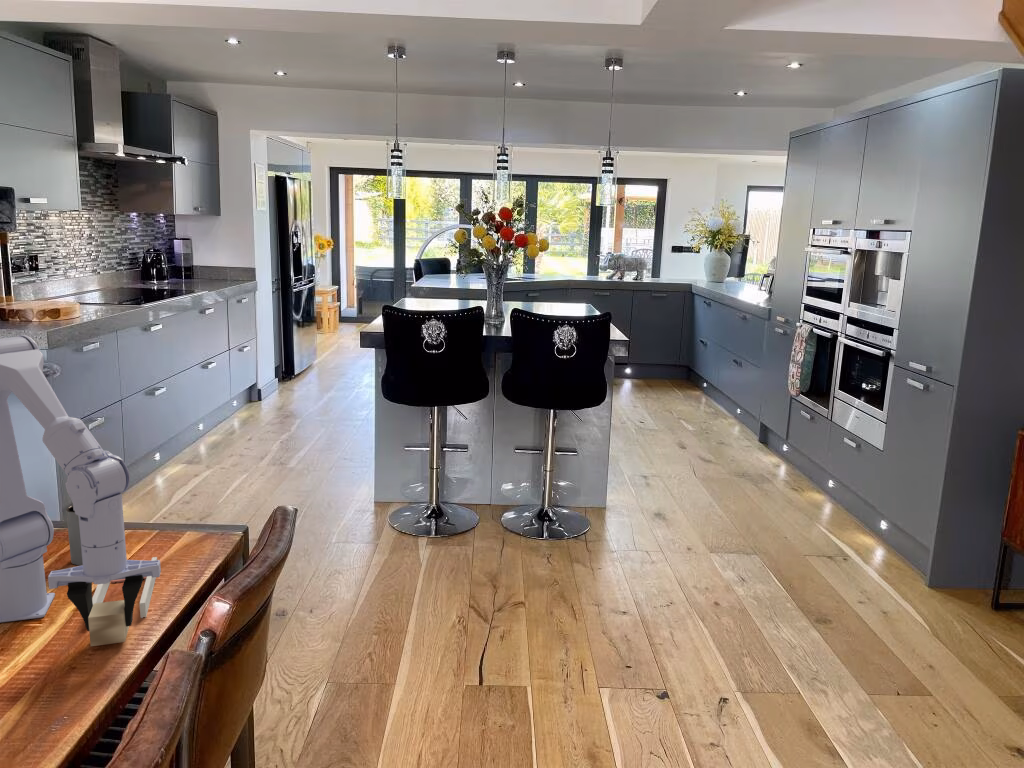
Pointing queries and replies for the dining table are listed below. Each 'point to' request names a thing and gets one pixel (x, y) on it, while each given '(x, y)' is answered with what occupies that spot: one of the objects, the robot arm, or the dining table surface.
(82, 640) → the dining table surface
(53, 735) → the dining table surface
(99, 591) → the channel
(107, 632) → the block
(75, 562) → the grey hollow tube
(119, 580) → the pad
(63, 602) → the dining table surface
